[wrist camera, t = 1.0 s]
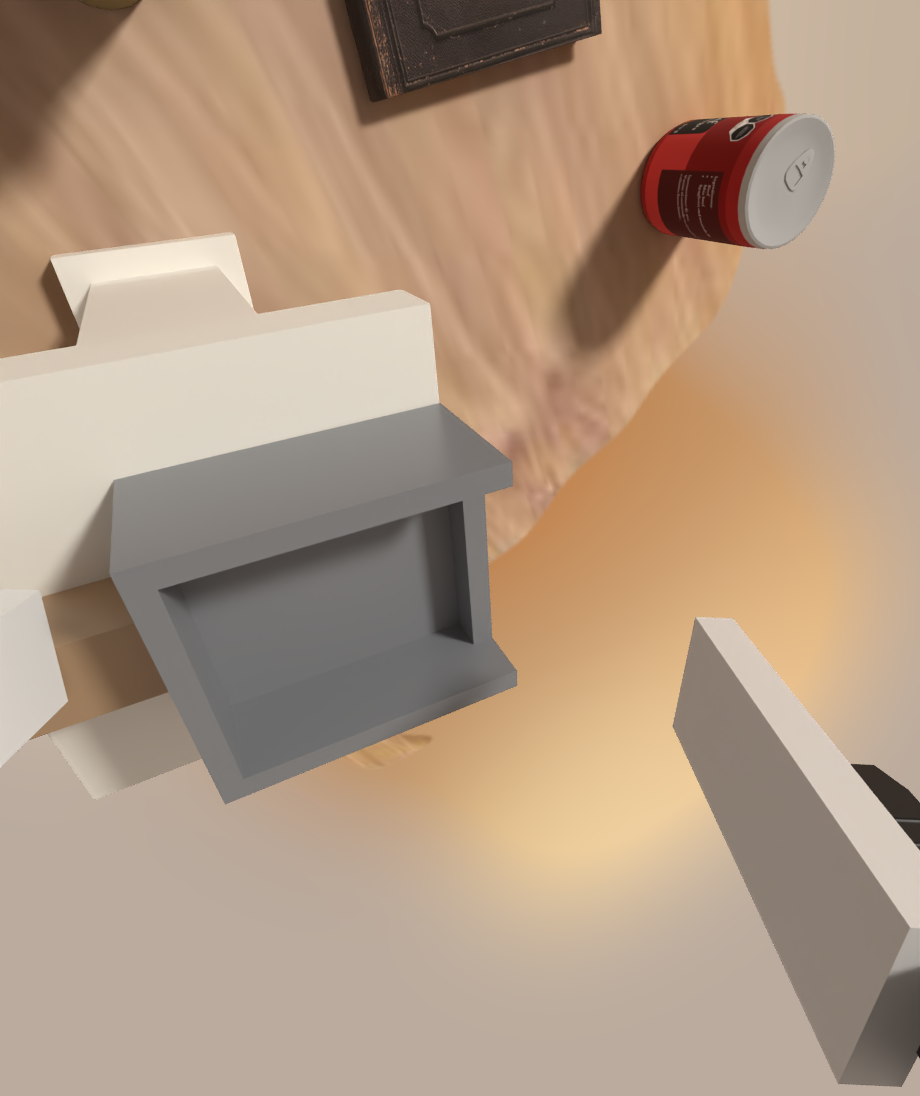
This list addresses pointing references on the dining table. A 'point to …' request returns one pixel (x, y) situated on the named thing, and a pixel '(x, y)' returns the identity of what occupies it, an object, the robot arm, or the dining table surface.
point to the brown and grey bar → (295, 595)
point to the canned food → (739, 178)
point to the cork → (110, 3)
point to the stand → (174, 424)
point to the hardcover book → (458, 36)
